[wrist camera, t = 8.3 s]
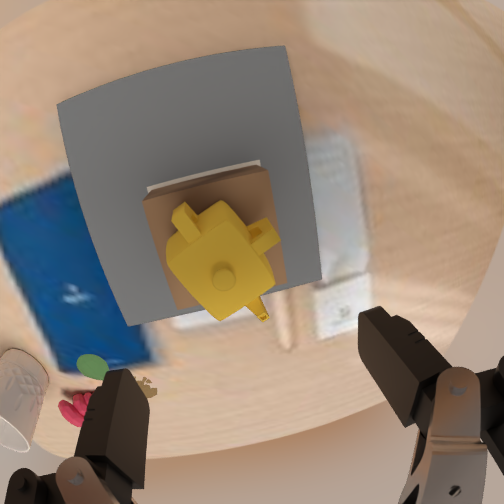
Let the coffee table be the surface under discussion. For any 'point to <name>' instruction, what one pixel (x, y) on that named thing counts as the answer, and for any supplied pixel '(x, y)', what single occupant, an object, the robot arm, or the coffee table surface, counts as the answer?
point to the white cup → (20, 398)
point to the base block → (201, 198)
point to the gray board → (186, 161)
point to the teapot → (222, 259)
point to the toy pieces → (96, 370)
